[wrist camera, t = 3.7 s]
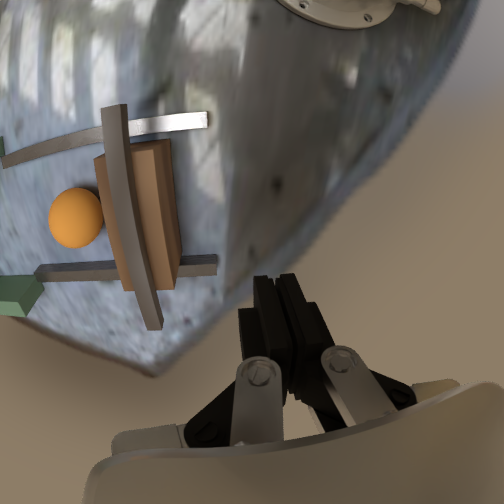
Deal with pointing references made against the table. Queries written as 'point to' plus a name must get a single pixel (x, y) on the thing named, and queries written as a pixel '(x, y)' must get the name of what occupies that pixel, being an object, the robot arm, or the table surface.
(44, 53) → the table surface
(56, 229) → the ball
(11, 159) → the track
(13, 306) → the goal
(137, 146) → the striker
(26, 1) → the table surface
